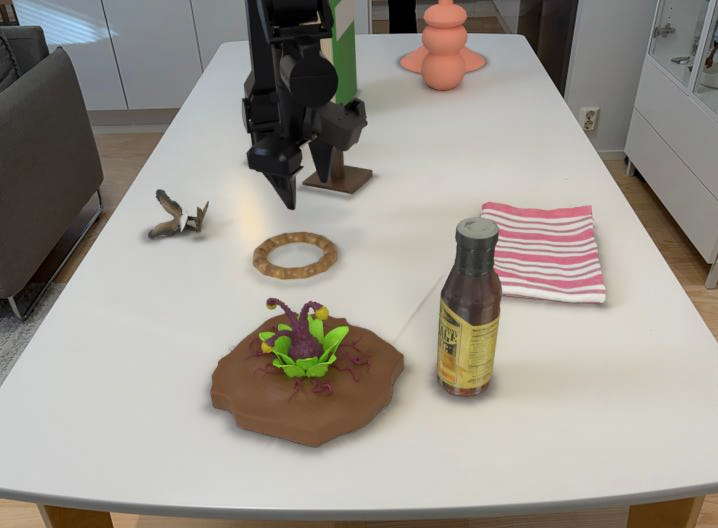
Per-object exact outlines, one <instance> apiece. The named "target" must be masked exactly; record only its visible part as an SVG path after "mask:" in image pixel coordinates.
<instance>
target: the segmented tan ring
mask: <svg viewBox="0 0 718 528" xmlns="http://www.w3.org/2000/svg"><path fill="white" fill-rule="evenodd" d="M294 243H295V244H296V243H297V244H298V243H304V244H309V245H313V246H316V247H317V248H319V249H320V250H321V251H322V256H321V257H320V259H318V260H317V261H316V262H313V263H312V262H311V263H309V264H306V265H304V266H296V267H295V266H294V267H293V266H292V267H283V266H280V265H275V264H272V263H271V262H270V261H269V260H268V255H269V254H270V253H271V252H272V251H274V250H275V249H276V248H278V247H281V246H284V245H287V244H294ZM337 261H338V247H337V245H336V244H335V243H334V242H332V241H331V240H330V239H328V238H327V236H325V235H322V234H318V233H313V232H310V231H295V232H294V231H293V232H283V233H279V234H277V235H275V236H271V237H269V238H268V237H267V239H265V240H264V241H262V243H260V244H259V245H258V246H257V247H255V248H254V250H253V255H252V267H254V268H255V269H256V270H257V271H258V272H260V273H261V274H262V275H263V276H266V277H270V278H274V279H277V280H285V281H286V280H299V279H308V278H311V277H314V276H316V275H319V274H322V273H325V272H327V271H328V270H329V269H330V268H331V267H332V266H333V265H334V264H335V263H336V262H337Z"/></svg>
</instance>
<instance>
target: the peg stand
mask: <svg viewBox="0 0 718 528" xmlns="http://www.w3.org/2000/svg"><path fill="white" fill-rule="evenodd" d="M344 153H345V152H344V151H339V150H337V149H336V151H335V154H334V158H333V163H332V167H331V171H330V176H329V180H328V182H327V183H322V182H320V179H319V177H318V174H317V171H316V170H315V172H313V173H312V174H310V175H309V176H308V177H307V178H305V179H304V180H303V181H302V182H301V183H302V186H305V187H312V188H317V189H322V190H327V191H332V192H338V193H344V194H348V195H354V194H355V193H356V192H357V191H358V190H359V189H360V188H362V186H364V185H365V184H366V183H367V182H368V181H370V179H372V177H373V173H374V172H373V169H369V168H363V167H359V166H358V167H357V166H352V165H346V164H345V157H344V156H345V155H344Z"/></svg>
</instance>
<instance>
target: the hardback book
mask: <svg viewBox="0 0 718 528" xmlns="http://www.w3.org/2000/svg"><path fill="white" fill-rule="evenodd" d="M329 2H330V6H331V11H332V15H333V19H334V25H333V28H331V29H332V34H333V37H332V38H328V39H320V44H321V50H322V53H323V54H324V55H325V56H326V58H327V59H328V60H329V61H330V62H331V63H332V65H333V66H334V68H335V70H336V72H337V75H338V88H337V91H336V93H335V95H334V97H333V98H332V99H331V102H334V103H336V104H339V103H341V102H342V103H343V105H346V104H347V103H348V102H349V101H351V100H352V99H354V98H355V96H356V94H357V92H358V78H357V77H358V75H357V55H356V54H357V53H356V51H357V50H356V30H355V5H354V0H329ZM317 15H318V12H317ZM317 23H321V21H320V18H319V15H318V21H317V22H315V23H306V24H300V25H308V24H317Z"/></svg>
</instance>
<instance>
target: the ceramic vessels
mask: <svg viewBox="0 0 718 528" xmlns="http://www.w3.org/2000/svg"><path fill="white" fill-rule="evenodd" d="M422 18H423V20H424V22H425V24H426V25H427V26H425V28H424V29H423V31H422V33H421V43H422V45H421V46H419V47H418V48H416V49H414V50H413V51H412V52H410V53H408V54H407V55H405V56H403V57H402V59H401V60H400V65H401V67H402V68H404V69H406V70H408V71H411V72H414V73H419V74H421V77H422V79H423V81H424V82H425V83H426V84H427V85H428V87H430V88H431V89H434V90H438V91H448V90H451V89H454V88H455V87H456V86H457V85H459V84H460V83H461V82H462V81H463V79H464V77H465V75H466V73H470V72H474V71H476V70H478V69H481V68H482V67H483V66H485V64H486V60H485V58H484V57H483V56H481V55H480V54H478V53H477V52H475V51H473V50H472V49H470V48H469V47H468V46H466V44H467V43H468V32H467V30H466V28H465V27H464V25H463V24H465V22H466V20H467V18H468V15H467V11H466V10H465V9H464V7H462V6H460V4H459V5H458V4H456V3H454V0H438V3H437V4H433V5H431V6H429V7H428V8H427V9H426V10H425V11H424V13H423V17H422Z"/></svg>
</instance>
